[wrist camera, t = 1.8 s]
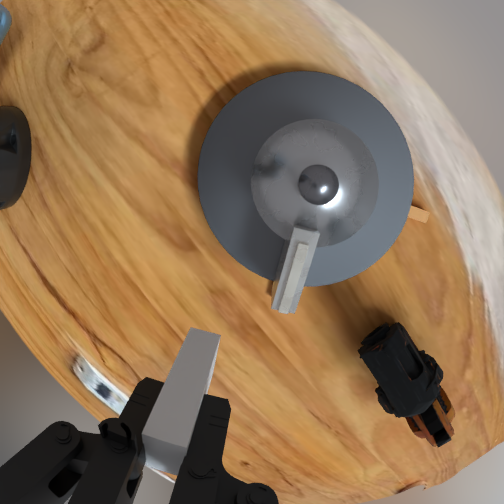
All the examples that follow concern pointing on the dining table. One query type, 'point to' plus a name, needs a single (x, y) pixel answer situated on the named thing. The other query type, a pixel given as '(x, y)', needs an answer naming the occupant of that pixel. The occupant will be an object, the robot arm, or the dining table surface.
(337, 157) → the dial
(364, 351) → the tool
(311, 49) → the dining table surface
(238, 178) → the dial plate
